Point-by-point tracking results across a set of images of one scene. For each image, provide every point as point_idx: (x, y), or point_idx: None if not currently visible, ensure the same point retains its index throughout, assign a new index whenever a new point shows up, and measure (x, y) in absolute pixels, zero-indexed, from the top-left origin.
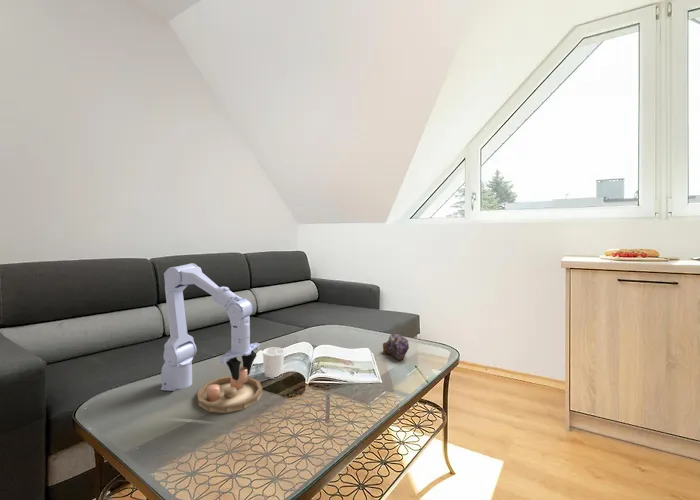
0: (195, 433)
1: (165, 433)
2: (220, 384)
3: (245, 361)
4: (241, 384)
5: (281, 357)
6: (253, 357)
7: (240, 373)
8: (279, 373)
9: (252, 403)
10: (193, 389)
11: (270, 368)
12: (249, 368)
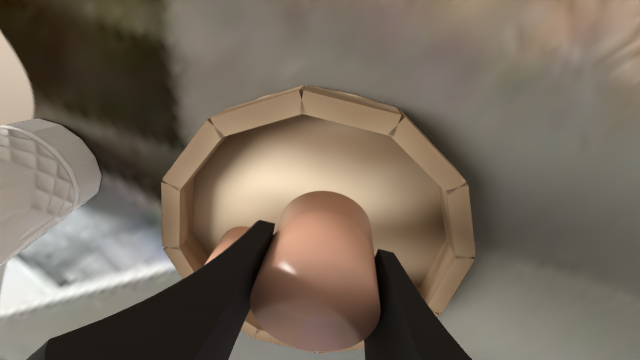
0: (617, 197)
1: (621, 288)
2: None
3: (221, 358)
4: (234, 237)
5: None
6: (129, 354)
7: (371, 275)
8: (20, 128)
9: (340, 93)
10: (327, 355)
11: (32, 181)
12: (248, 253)
